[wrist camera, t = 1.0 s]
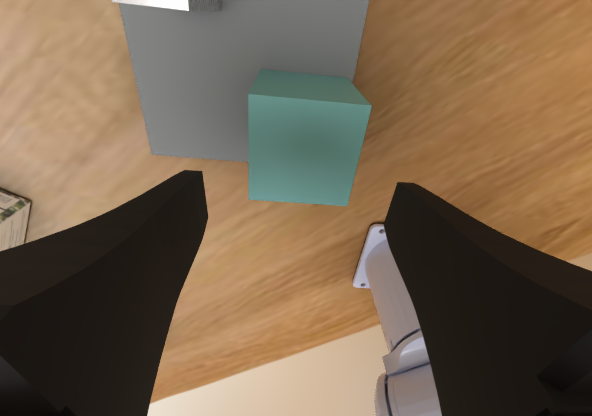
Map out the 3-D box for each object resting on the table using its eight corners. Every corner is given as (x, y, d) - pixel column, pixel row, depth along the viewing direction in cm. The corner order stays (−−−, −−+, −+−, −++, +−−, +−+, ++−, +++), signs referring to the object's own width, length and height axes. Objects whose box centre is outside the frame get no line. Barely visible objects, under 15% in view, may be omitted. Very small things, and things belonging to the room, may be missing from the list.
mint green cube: (347, 77, 17) (372, 105, 12) (332, 157, 20) (347, 205, 15) (260, 69, 16) (248, 94, 11) (259, 151, 19) (248, 199, 14)
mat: (382, -81, 13) (385, -84, 13) (334, 165, 21) (335, 168, 20) (96, -122, 12) (90, -127, 12) (154, 151, 20) (151, 154, 19)
